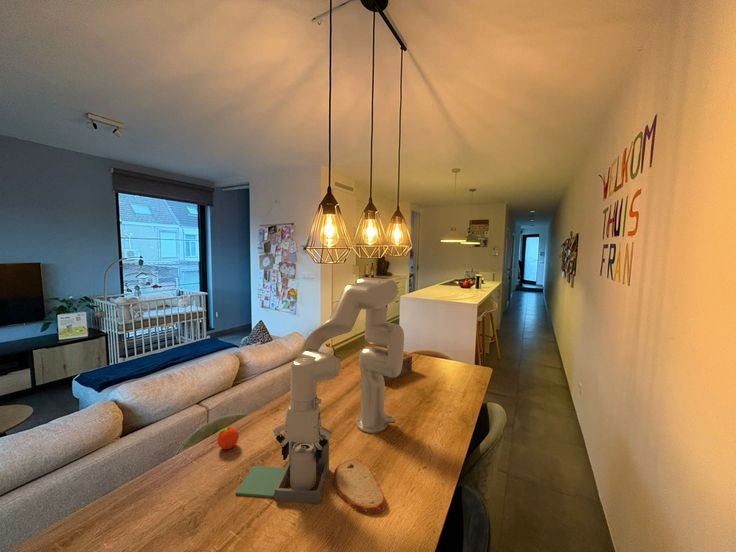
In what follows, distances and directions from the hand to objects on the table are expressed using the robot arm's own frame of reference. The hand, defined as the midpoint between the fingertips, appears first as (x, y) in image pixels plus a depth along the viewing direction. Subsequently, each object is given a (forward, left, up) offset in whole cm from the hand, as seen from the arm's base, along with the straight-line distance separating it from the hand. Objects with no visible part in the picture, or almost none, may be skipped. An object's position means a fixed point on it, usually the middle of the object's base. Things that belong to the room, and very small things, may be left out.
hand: (301, 458), depth 89 cm
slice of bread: (-17, -2, -9) cm, 20 cm away
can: (0, -1, -9) cm, 9 cm away
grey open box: (0, -1, -9) cm, 9 cm away
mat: (+12, -1, -9) cm, 15 cm away
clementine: (+31, -15, -9) cm, 36 cm away
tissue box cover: (-25, -87, -9) cm, 90 cm away
